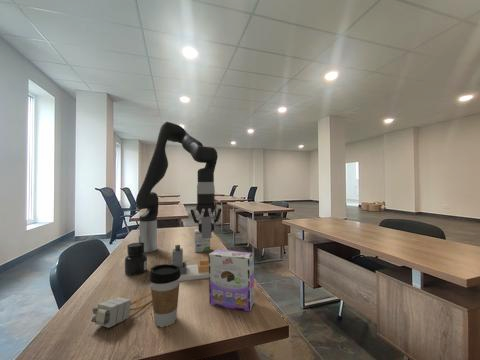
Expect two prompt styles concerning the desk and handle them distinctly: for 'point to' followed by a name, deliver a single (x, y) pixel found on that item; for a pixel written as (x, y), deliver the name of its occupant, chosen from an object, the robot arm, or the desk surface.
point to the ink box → (201, 242)
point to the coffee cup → (165, 293)
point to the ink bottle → (135, 259)
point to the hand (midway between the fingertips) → (206, 231)
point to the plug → (206, 227)
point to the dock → (189, 266)
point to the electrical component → (113, 311)
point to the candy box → (231, 279)
